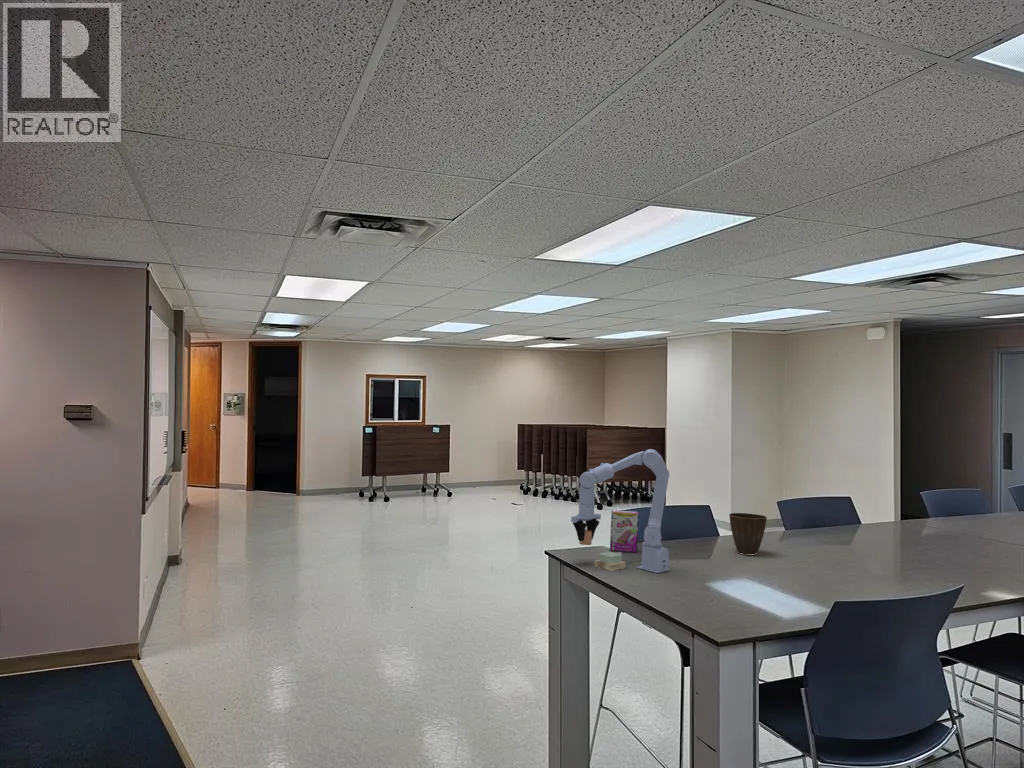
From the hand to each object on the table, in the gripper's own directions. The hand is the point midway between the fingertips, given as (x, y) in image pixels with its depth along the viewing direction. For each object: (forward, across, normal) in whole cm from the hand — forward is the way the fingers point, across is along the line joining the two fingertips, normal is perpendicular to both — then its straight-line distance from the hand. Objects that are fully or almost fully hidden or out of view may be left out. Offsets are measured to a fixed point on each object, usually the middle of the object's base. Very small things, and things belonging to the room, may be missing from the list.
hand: (585, 539), depth 256 cm
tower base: (+10, -3, +10) cm, 14 cm away
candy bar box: (+9, -31, -6) cm, 33 cm away
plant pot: (+9, -73, +26) cm, 78 cm away
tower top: (+6, -3, +10) cm, 12 cm away
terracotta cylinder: (+1, 0, 0) cm, 1 cm away
